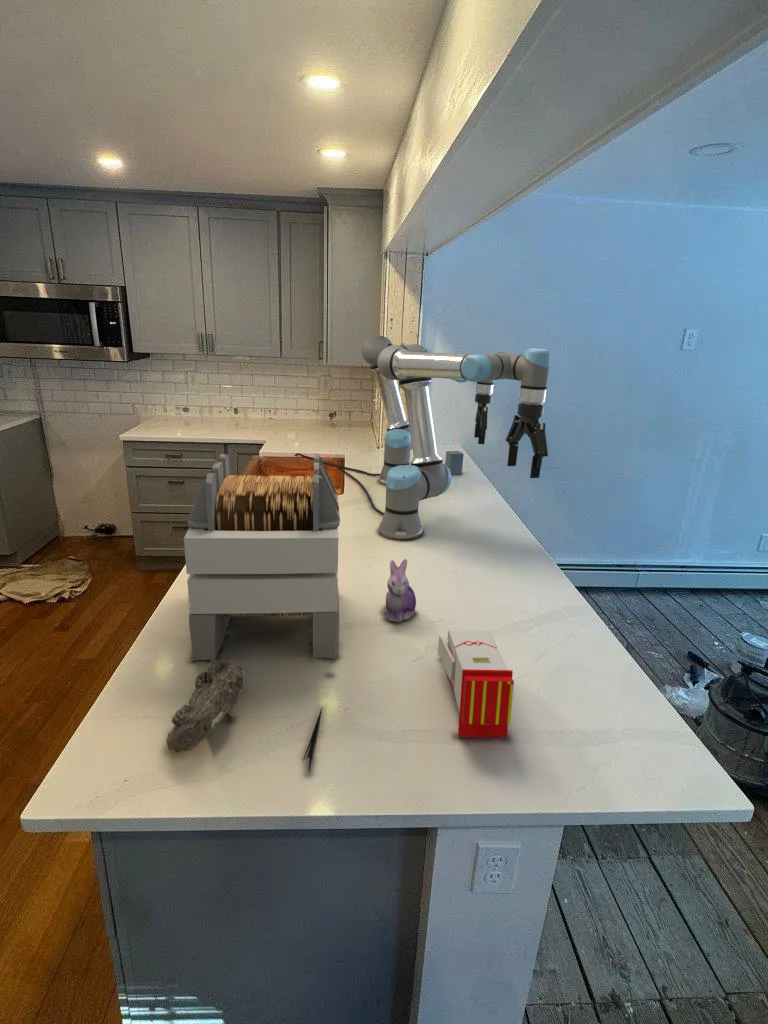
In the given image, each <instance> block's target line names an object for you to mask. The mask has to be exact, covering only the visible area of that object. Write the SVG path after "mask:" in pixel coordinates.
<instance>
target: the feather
mask: <svg viewBox="0 0 768 1024" xmlns="http://www.w3.org/2000/svg"><path fill="white" fill-rule="evenodd" d="M329 675H330V676H331V675H332V674H331V673H330V674H329ZM322 710H323V707H321V708H320V710H319V713H318V716H317V719H316V723H315V725H314V728H313V731H312V733H311V737H310V739H309V742H308V745H307V748H306V751H305V754H304V757H303V760H302V763H301V767H302V765H303V763H304V761H305V758H308V759H309V760H308V762H307V763H308V764H307V766H308V771H310V770H311V766H312V765H311V764H312V760H313V757H315V756H314V755H315V751H316V749H315V746H317V739H318V733H319V729H320V722H321V717H322V712H323V711H322ZM313 754H314V755H313ZM306 755H307V757H306Z"/></svg>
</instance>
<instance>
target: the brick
mask: <svg viewBox="0 0 768 1024" xmlns="http://www.w3.org/2000/svg"><path fill="white" fill-rule="evenodd" d="M464 455H465V454H464V453H463V452H461V451H460V450H446V451H445V462H444V464H445V465H446V466H447V468H449V470H450V473H451V476H461V475H462V474H463V465H464Z"/></svg>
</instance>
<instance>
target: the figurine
mask: <svg viewBox="0 0 768 1024" xmlns="http://www.w3.org/2000/svg"><path fill="white" fill-rule="evenodd" d="M407 567H408V559H406V558H404V559H403V560H402V561H401V563H400V565H399V566H398V565H397V563H396V562H395V561H394V560H393V559H391V560H390V561H389V570H390V576H389V578H388V579H387V589H388V591H387V592H386V594H385V595H386V596H385V607H384V615H385V616H386V620H387V621H391V622H395V623H400V622H402V621H406V620H409V619H410V618H411V617H413V616H414V615H415V610H416V606H417V597H416V593H415V591H414V590H413V587H411V586H410V582H409V579H408V577H407V574H406V571H407Z"/></svg>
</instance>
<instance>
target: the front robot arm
mask: <svg viewBox="0 0 768 1024" xmlns="http://www.w3.org/2000/svg"><path fill="white" fill-rule="evenodd" d="M551 357H552V353H551V351H550V350H549V349H546V348H545V349H544V348H526V349H525V350H524V354H518V353H509V352H504V351H502V352H500V351H498V352H497V351H496V352H495V351H494V352H492V353H451V352H433V351H432V349H430V348H429V347H428V346H426V345H423V344H417V343H415V344H393V345H392V346H388V347H386V348H385V349H383V350H382V351H381V353H380V355H379V357H378V362H377V363H378V369H379V371H380V373H381V374H382V375H383V376H384V377H385V378H387V379H390V380H396V381H397V382H398V388H400V389H402V390H403V392H404V399H405V406H406V407H405V408H406V413H407V418H408V419H407V420H408V421H409V428H410V435H411V442H412V449H411V450H412V456H413V458H412V460H410V463H409V465H404V466H403V465H400V466H396V467H393V468H391V469H390V470H389V471H388V473H387V480H386V485H385V504H384V505H385V507H384V508H385V509H384V511H382V510H380V509H378V508H377V507H376V506H375V505H374V502H373V500H372V498H371V496H370V494H369V491H367V489H366V488H365V486H364V484H362V482H360V480H359V479H358V478H356V477H355V476H353V475H352V474H351V473H349V472H347V471H346V470H345V469H342V468H339V467H336V469H337V470H339V471H340V472H342V473H344V474H346V475H347V476H348V477H350V478H351V479H352V480H354V481H355V482H356V483H357V484H358V485H359V486H360V487H361V488H362V490H363V491H364V493H365V495H366V497H367V499H368V501H369V504H370V505H371V507H372V509H373V510H374V511H375V512H376V513H378V514H380V515H382V519H381V522H379V525H378V533H379V534H380V535H381V536H382V537H385V538H387V539H389V540H395V541H410V540H415V539H418V538H420V537H421V536H422V535H423V525H422V524H421V518H420V515H419V507H420V506H419V505H420V502H421V501H423V500H427V499H430V498H436V497H438V496H440V495H443V494H445V493H446V492H447V491H448V490H449V488H450V486H451V483H452V475H451V473H450V470H449V468H447V466H446V465H445V463H444V461H443V457H441V456H440V455H439V454H438V449H437V441H436V433H435V427H434V419H433V412H432V404H431V398H430V391H429V390H430V389H429V386H430V385H431V383H432V381H433V380H432V379H444V380H445V379H446V380H451V379H460V380H467V382H468V381H469V382H473V383H477V382H481V381H487V380H494V381H499V380H511V381H512V380H513V381H519V382H520V388H519V396H518V401H519V403H518V405H517V414H515V415H514V416H513V421H512V423H511V426H510V429H509V431H508V433H507V435H506V437H505V442H506V443H508V446H509V448H508V456H507V464H506V466H507V467H517V460H518V451H519V444H520V443H519V442H520V440H522V438H523V437H524V435H527V437H528V438H529V440H530V443H531V448H532V451H533V455H532V459H531V467H530V474H529V479H539V478H540V475H541V468H542V464H543V458H544V457H548V456H549V451H548V443H547V435H546V422H540V418H542V417H544V410H545V405H544V403H546V395H547V388H548V381H549V374H550V368H551V359H552V358H551Z"/></svg>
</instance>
